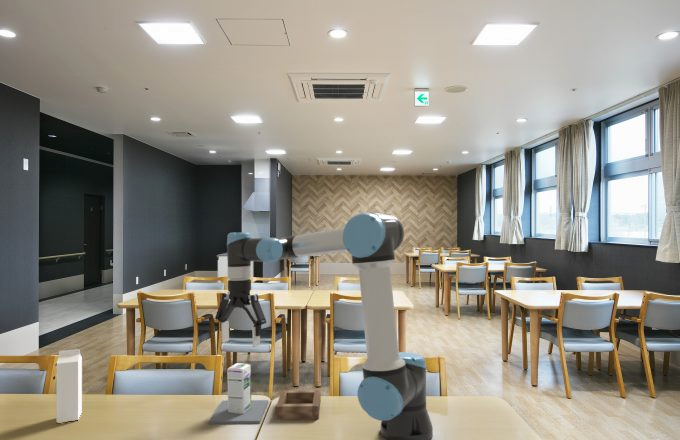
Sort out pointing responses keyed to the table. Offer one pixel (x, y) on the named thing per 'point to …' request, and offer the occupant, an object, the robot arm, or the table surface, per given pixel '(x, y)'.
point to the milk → (69, 385)
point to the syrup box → (239, 388)
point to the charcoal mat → (249, 416)
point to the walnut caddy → (298, 404)
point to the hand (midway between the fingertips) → (240, 343)
